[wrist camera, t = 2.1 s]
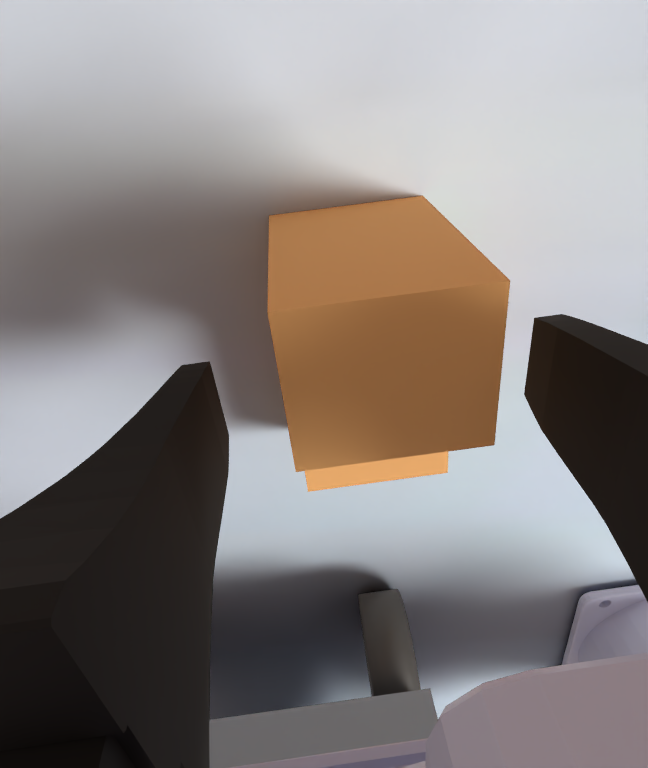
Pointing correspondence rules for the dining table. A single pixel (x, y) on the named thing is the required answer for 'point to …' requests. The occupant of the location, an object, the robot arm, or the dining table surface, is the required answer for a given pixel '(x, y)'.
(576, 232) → the dining table surface
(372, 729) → the toy platform cart
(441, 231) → the orange block
